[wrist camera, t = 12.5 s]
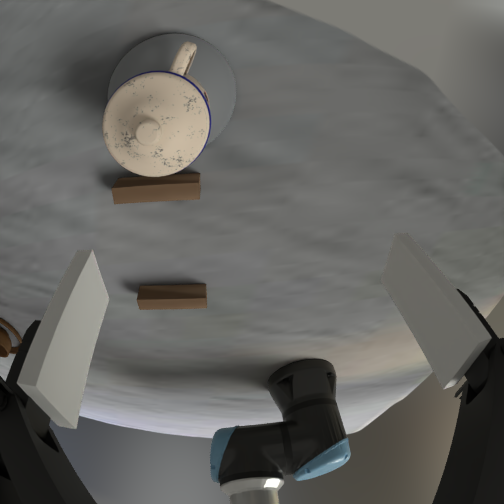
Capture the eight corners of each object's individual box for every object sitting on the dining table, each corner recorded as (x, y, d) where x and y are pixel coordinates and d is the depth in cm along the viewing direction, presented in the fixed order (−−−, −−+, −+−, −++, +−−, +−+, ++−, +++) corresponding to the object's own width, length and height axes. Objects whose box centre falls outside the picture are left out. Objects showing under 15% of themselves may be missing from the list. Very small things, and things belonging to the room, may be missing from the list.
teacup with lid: (194, 159, 33) (186, 205, 23) (118, 136, 30) (78, 174, 20) (236, 60, 27) (248, 57, 17) (154, 34, 24) (122, 21, 14)
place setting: (-31, 316, 44) (-41, 335, 39) (-12, 274, 39) (-26, 296, 34) (24, 359, 53) (17, 379, 49) (55, 330, 48) (47, 354, 44)
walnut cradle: (206, 293, 46) (206, 308, 43) (142, 295, 44) (139, 309, 42) (199, 173, 35) (198, 182, 32) (118, 178, 34) (111, 188, 31)
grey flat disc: (234, 152, 34) (235, 154, 33) (115, 158, 32) (113, 161, 31) (237, 32, 26) (238, 31, 25) (108, 43, 24) (105, 43, 23)
